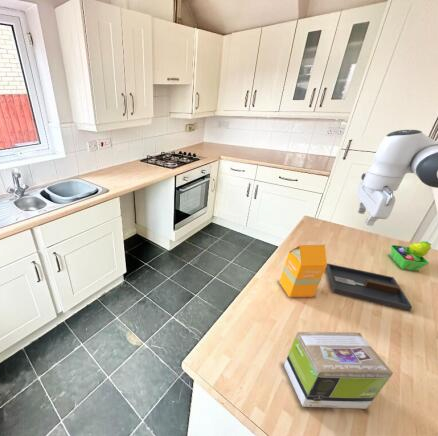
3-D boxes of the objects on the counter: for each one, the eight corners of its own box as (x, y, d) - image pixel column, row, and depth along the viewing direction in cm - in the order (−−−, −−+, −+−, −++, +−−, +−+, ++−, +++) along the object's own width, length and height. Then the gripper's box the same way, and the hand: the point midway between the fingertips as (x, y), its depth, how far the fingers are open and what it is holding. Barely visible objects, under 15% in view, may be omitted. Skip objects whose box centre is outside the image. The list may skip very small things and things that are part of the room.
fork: (393, 290, 88) (397, 284, 87) (396, 295, 86) (400, 289, 85) (333, 276, 95) (336, 271, 93) (335, 281, 93) (337, 275, 91)
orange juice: (313, 296, 87) (333, 251, 77) (289, 297, 87) (305, 252, 77) (301, 281, 94) (318, 238, 84) (278, 281, 94) (292, 238, 84)
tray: (391, 281, 93) (393, 277, 92) (409, 311, 81) (412, 307, 80) (325, 267, 101) (326, 263, 100) (333, 292, 88) (334, 288, 87)
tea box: (338, 366, 65) (361, 331, 58) (366, 410, 56) (397, 374, 49) (282, 365, 66) (297, 329, 59) (301, 408, 57) (321, 372, 50)
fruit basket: (384, 253, 108) (397, 232, 102) (409, 257, 105) (423, 235, 100) (399, 270, 98) (413, 247, 93) (427, 274, 96) (443, 251, 90)
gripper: (408, 194, 70) (386, 234, 77) (382, 173, 87) (366, 208, 93) (380, 191, 73) (362, 230, 79) (360, 171, 89) (346, 205, 95)
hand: (364, 218), depth 86 cm, fingers open, 8 cm apart
